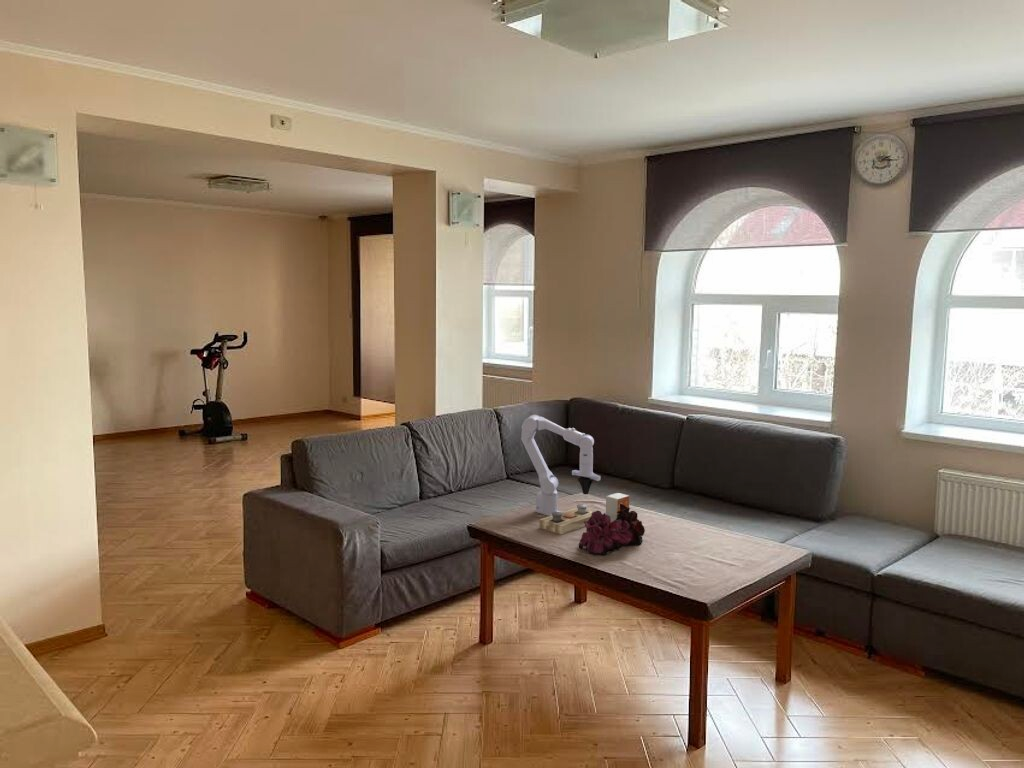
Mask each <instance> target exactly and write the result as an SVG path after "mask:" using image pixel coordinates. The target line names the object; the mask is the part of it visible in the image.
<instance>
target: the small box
mask: <svg viewBox="0 0 1024 768" xmlns="http://www.w3.org/2000/svg"><path fill="white" fill-rule="evenodd" d="M620 504H623V505H625V506H626V507H627V508H630V495H629V494H624V493H619V492H615V493H611V494H609V495H606V496H605V514H606V515H609V516H610V518H611V522H613V521H614V520H616V518H617V515H618V514H619V513H616V512H618V511H620Z"/></svg>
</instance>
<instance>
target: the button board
mask: <svg viewBox="0 0 1024 768" xmlns="http://www.w3.org/2000/svg"><path fill="white" fill-rule="evenodd" d="M593 512H594V511H591V510H588V509H586V514H584V515H581V514H578V508H577V507H575V508H572V509H569V510H565V511H562V512H561V513H562V516H561V522H560V523H555V522H553V516H545V517H543V518H540V519H539V528H540V529H543V530H546V531H550V532H552V533H556V534H557V535H564V534H567V533H569V532H572V531H575V530H578V529H581V528H584V527H585V524H584V521H588V520H589V519H590V517H591V514H592V513H593ZM566 513H573V514H575V517H574V518H572V519H568V518H565V516H564V514H566Z"/></svg>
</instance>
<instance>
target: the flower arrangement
mask: <svg viewBox="0 0 1024 768" xmlns="http://www.w3.org/2000/svg"><path fill="white" fill-rule="evenodd" d="M630 509H631V508H630V507H629V508H627V507H626V506H625V505H623V504H620V511H618V512H616V513H619V514H618V515H617V518H616V520H614V521H613V522H611V518H610V516H609V515H606V512H603V513H602V511H600V510H596V511H592V512H593V513H592V514H591V517H590V519H589V520H588V521H584V524H585V526H584V527H585V529H586V531H585V532H584V531H583V532H582V535H581V537H580V540H579V542H578V545H577V546H578V549H583V548H584V549H585V550H584V551H587V553H588V554H590V555H593V556H598V557H603V556H607V555H608V553H613V552H614V551H616V550H620V549H622V548H627V547H628V548H629V547H640V546H641V545H642V544H643V542H644V541H643V536H644V535H645V532H646V529H645V526H644V525H643V522H642V520H640V519H638V513H637V512H636V511H635V510H630Z"/></svg>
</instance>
